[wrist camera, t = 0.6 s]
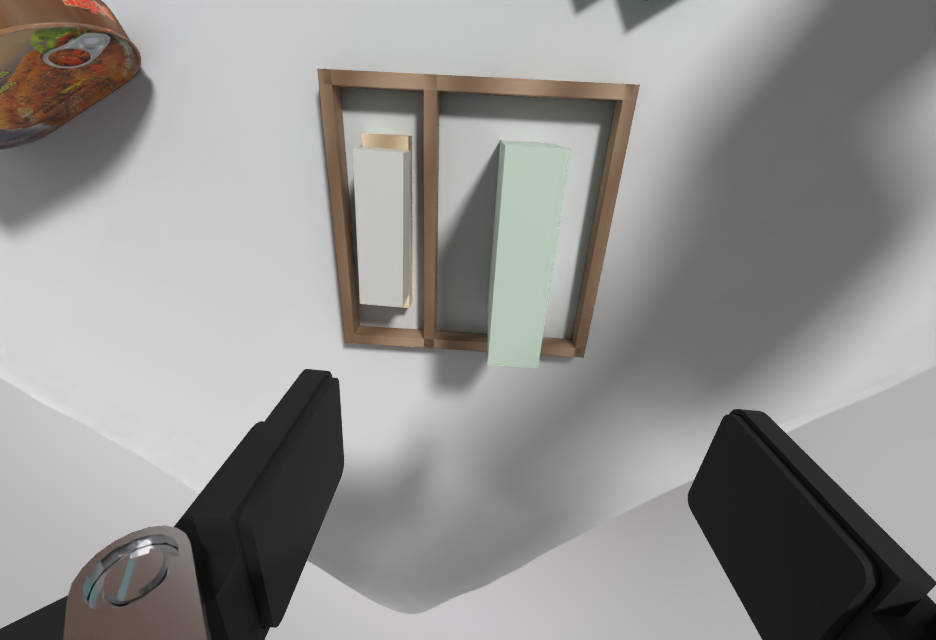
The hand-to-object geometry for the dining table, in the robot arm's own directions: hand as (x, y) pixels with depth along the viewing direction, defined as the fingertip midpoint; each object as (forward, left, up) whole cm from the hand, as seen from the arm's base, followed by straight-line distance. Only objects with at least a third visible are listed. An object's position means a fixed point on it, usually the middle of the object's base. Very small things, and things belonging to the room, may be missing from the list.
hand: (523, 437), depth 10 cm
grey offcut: (+8, 0, -20) cm, 21 cm away
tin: (+29, -8, -22) cm, 37 cm away
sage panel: (-1, 0, -22) cm, 22 cm away
